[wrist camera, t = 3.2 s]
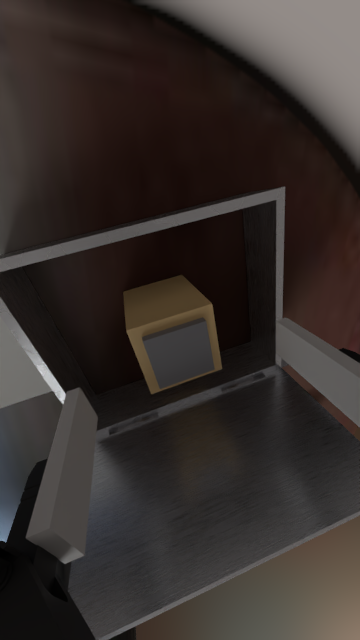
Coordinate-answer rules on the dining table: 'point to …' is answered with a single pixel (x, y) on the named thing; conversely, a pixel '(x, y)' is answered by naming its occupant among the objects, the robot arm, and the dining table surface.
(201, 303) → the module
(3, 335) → the pad
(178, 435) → the case
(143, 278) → the dining table surface
